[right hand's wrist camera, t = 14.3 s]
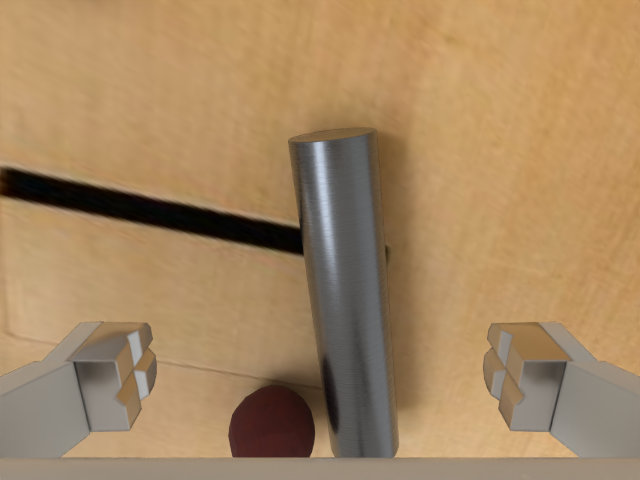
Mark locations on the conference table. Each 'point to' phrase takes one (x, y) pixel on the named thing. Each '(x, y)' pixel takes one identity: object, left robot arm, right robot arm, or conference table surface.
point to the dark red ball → (272, 425)
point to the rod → (348, 286)
